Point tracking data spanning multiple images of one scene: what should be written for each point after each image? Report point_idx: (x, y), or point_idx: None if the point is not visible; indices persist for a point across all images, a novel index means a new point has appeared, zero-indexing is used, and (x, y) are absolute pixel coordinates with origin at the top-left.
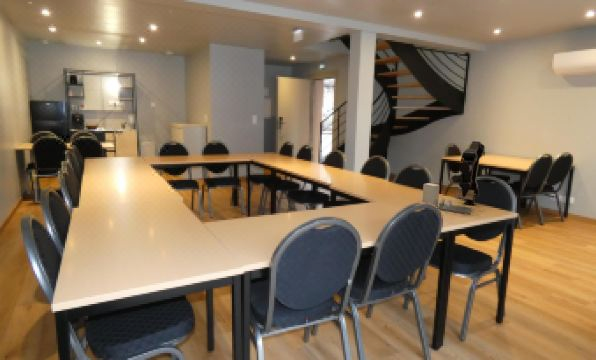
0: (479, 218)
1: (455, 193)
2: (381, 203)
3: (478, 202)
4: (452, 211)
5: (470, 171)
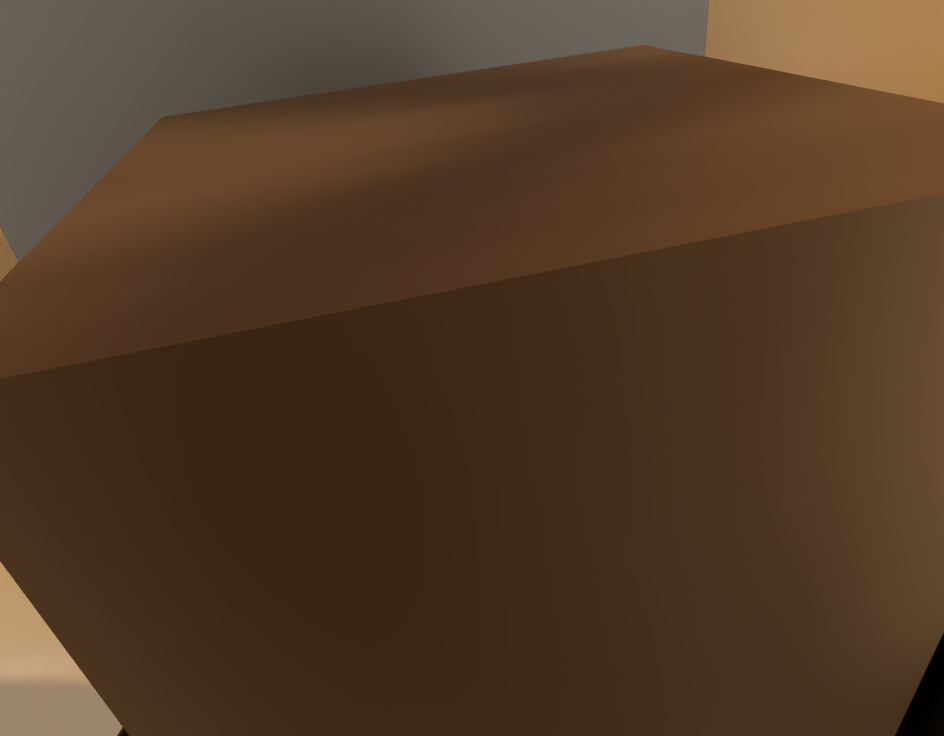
0: (30, 639)
1: (90, 194)
2: None
3: None
4: None
5: None
